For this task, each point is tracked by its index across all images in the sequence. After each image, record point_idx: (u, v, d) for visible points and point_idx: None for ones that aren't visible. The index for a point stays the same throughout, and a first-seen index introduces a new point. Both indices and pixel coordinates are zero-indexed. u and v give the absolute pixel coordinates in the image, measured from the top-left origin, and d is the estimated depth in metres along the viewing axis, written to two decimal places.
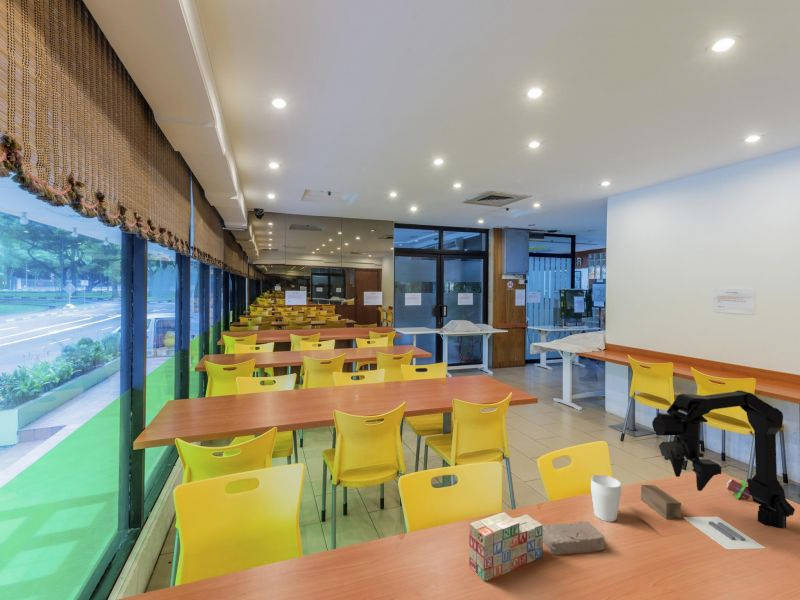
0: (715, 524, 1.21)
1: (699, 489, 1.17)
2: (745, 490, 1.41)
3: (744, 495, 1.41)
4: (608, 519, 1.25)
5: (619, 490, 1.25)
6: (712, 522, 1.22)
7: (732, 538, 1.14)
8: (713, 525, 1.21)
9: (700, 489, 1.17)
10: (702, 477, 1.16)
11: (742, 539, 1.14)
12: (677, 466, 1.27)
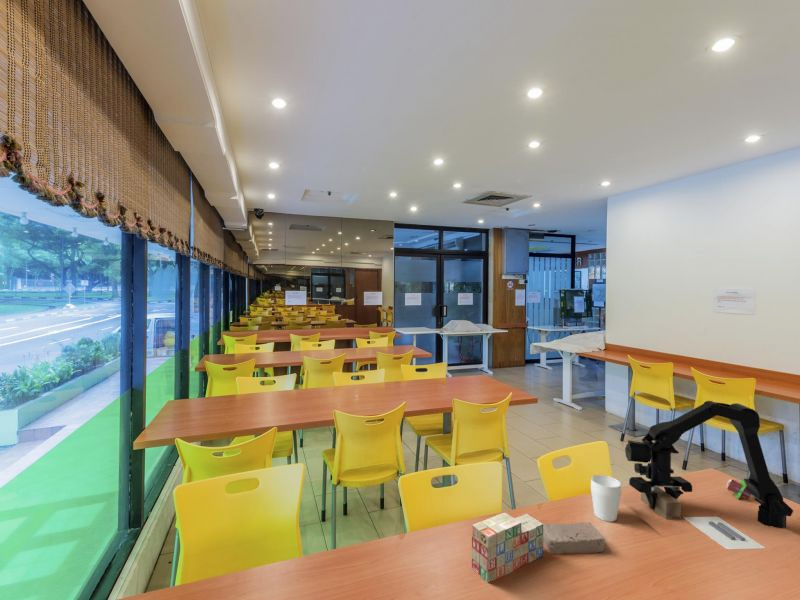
0: (715, 524, 1.21)
1: (650, 506, 1.31)
2: (745, 490, 1.41)
3: (744, 495, 1.41)
4: (608, 519, 1.25)
5: (619, 490, 1.25)
6: (712, 522, 1.22)
7: (732, 538, 1.14)
8: (713, 525, 1.21)
9: (651, 507, 1.31)
10: (649, 495, 1.31)
11: (742, 539, 1.14)
12: None
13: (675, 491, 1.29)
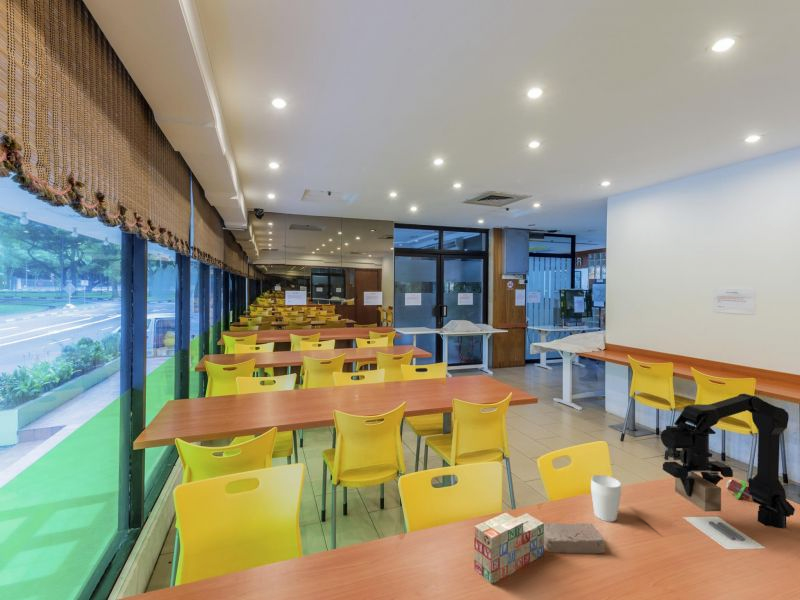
0: (715, 524, 1.21)
1: (687, 493, 1.21)
2: (745, 490, 1.41)
3: (744, 495, 1.41)
4: (608, 519, 1.25)
5: (619, 490, 1.25)
6: (712, 522, 1.22)
7: (732, 538, 1.14)
8: (713, 525, 1.21)
9: (687, 494, 1.21)
10: (685, 481, 1.21)
11: (742, 539, 1.14)
12: None
13: (714, 476, 1.19)
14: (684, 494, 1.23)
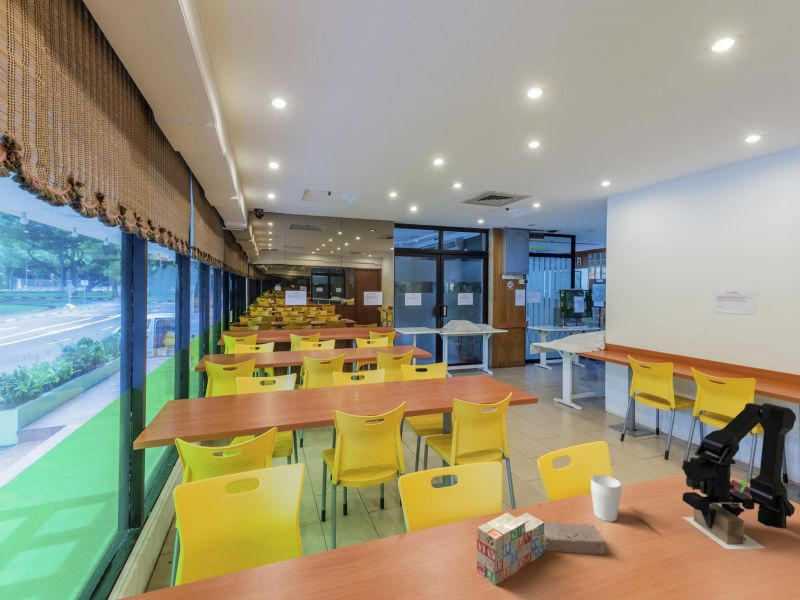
0: None
1: (707, 525, 1.18)
2: (745, 490, 1.41)
3: None
4: (608, 519, 1.25)
5: (619, 490, 1.25)
6: None
7: None
8: None
9: (708, 526, 1.18)
10: (705, 512, 1.18)
11: (743, 539, 1.14)
12: None
13: (735, 508, 1.17)
14: (704, 524, 1.20)
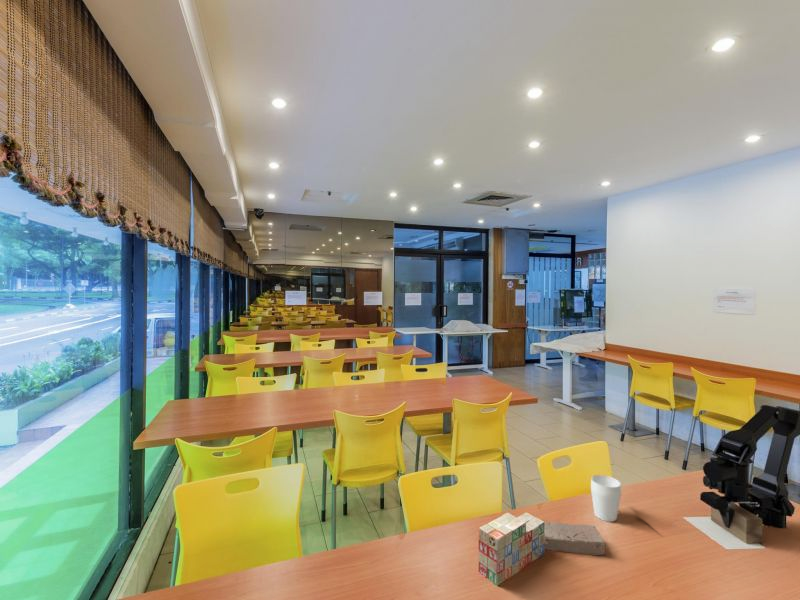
0: None
1: (725, 524, 1.19)
2: None
3: None
4: (608, 519, 1.25)
5: (619, 490, 1.25)
6: None
7: None
8: None
9: (726, 525, 1.18)
10: (723, 512, 1.19)
11: None
12: None
13: (753, 508, 1.17)
14: (722, 524, 1.20)
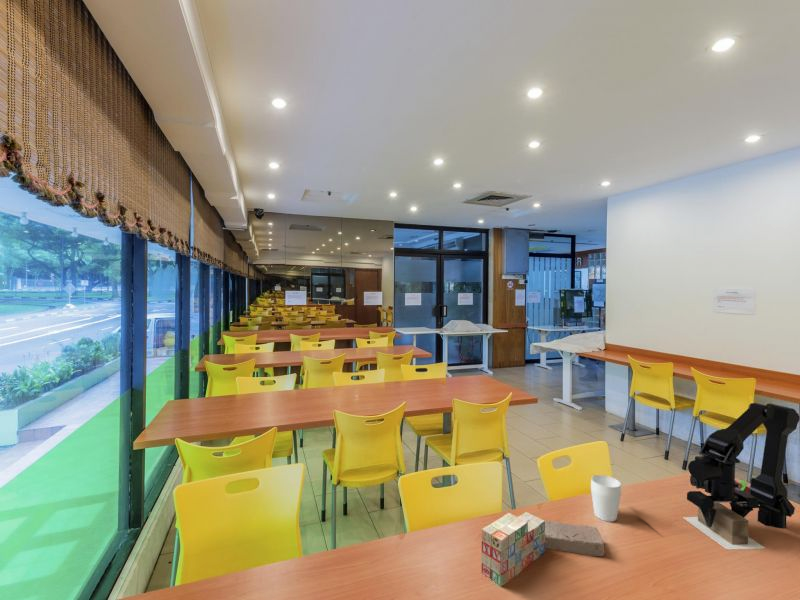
0: None
1: (707, 524, 1.18)
2: (745, 490, 1.41)
3: None
4: (608, 519, 1.25)
5: (619, 490, 1.25)
6: None
7: None
8: None
9: (707, 525, 1.18)
10: (705, 511, 1.18)
11: None
12: None
13: (744, 507, 1.17)
14: None
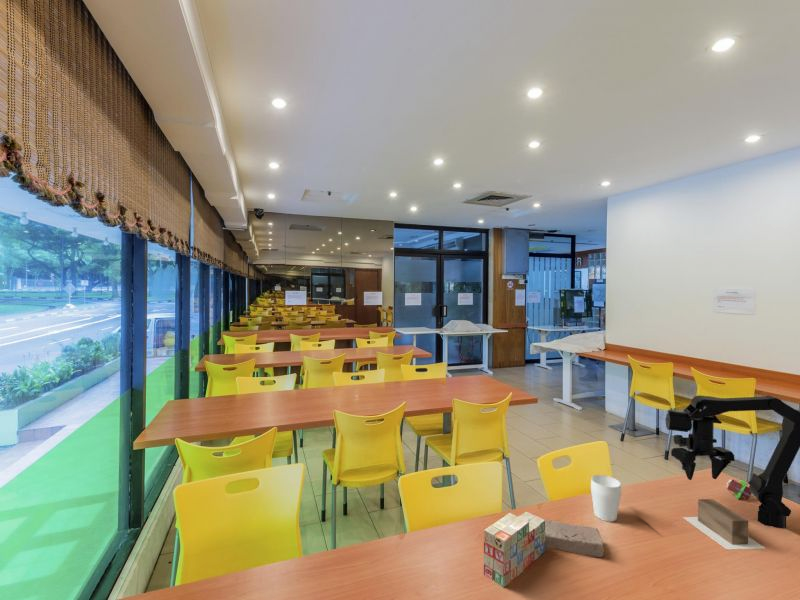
0: None
1: (688, 477, 1.31)
2: (745, 490, 1.41)
3: (744, 495, 1.41)
4: (608, 519, 1.25)
5: (619, 490, 1.25)
6: None
7: None
8: None
9: (688, 478, 1.30)
10: (686, 466, 1.30)
11: None
12: (715, 469, 1.31)
13: (723, 460, 1.29)
14: (708, 524, 1.20)
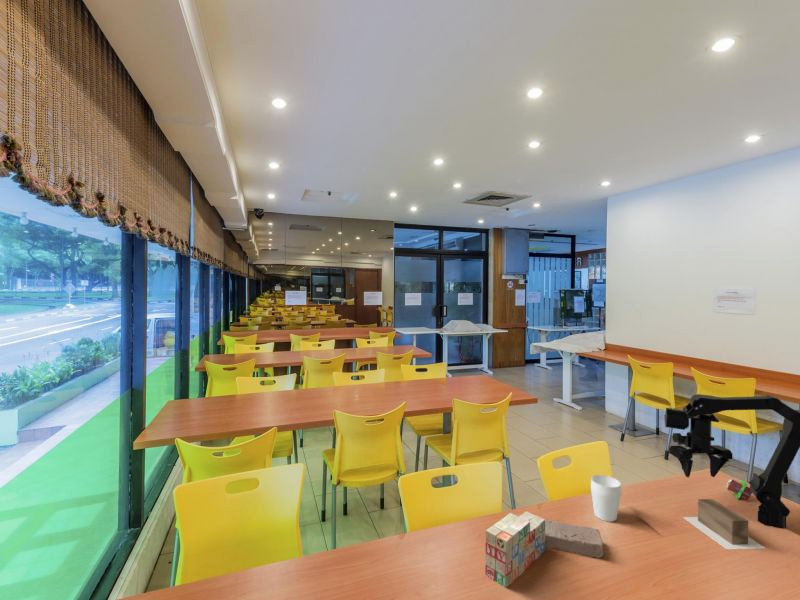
0: None
1: (685, 474, 1.33)
2: (745, 490, 1.41)
3: (744, 495, 1.41)
4: (608, 519, 1.25)
5: (619, 490, 1.25)
6: None
7: None
8: None
9: (686, 475, 1.32)
10: (683, 463, 1.32)
11: None
12: (713, 467, 1.33)
13: (721, 458, 1.31)
14: (708, 524, 1.20)
